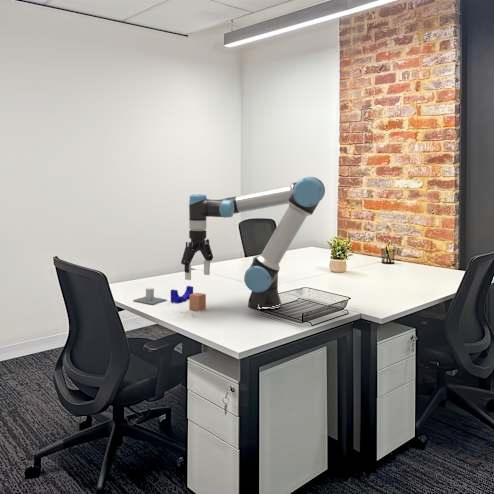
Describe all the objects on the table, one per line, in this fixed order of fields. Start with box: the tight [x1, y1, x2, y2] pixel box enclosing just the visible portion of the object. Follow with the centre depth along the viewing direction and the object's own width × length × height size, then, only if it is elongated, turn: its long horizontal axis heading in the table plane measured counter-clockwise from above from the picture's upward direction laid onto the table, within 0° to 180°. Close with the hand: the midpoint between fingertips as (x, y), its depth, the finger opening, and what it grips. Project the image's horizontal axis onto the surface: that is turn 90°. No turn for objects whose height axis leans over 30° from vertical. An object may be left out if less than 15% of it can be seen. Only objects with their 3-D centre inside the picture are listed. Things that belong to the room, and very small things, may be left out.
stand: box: [132, 287, 167, 306], centre depth 248 cm, size 12×10×6 cm
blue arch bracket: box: [170, 285, 194, 304], centre depth 250 cm, size 12×4×6 cm, turn 142°
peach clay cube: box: [188, 292, 207, 312], centre depth 235 cm, size 5×5×7 cm
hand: (197, 277), depth 233 cm, fingers open, 13 cm apart
